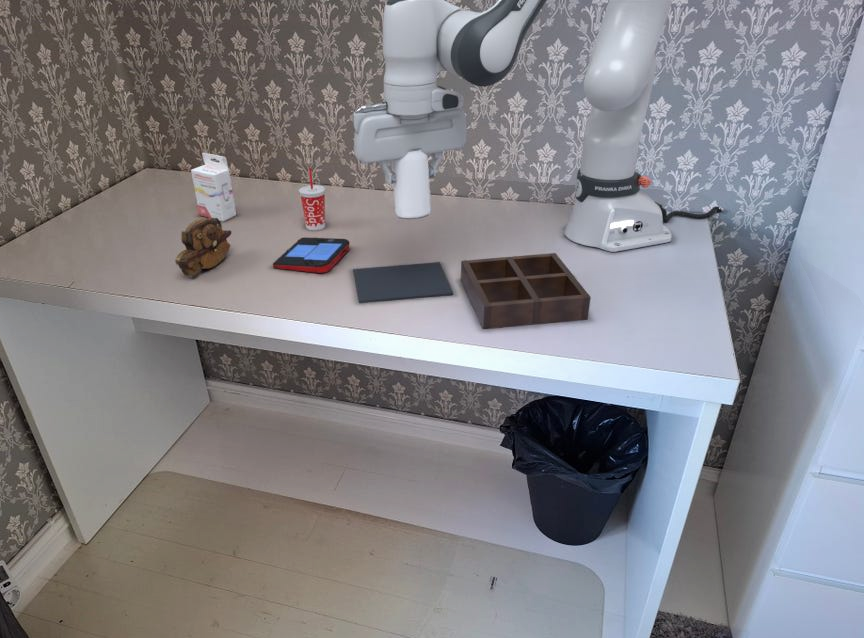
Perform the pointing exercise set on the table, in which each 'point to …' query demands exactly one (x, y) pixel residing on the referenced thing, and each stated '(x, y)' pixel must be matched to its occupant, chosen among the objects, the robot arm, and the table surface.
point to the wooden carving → (203, 245)
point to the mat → (401, 282)
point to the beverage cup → (313, 205)
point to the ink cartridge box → (214, 188)
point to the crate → (523, 291)
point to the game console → (313, 255)
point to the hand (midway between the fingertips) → (411, 180)
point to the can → (412, 185)
